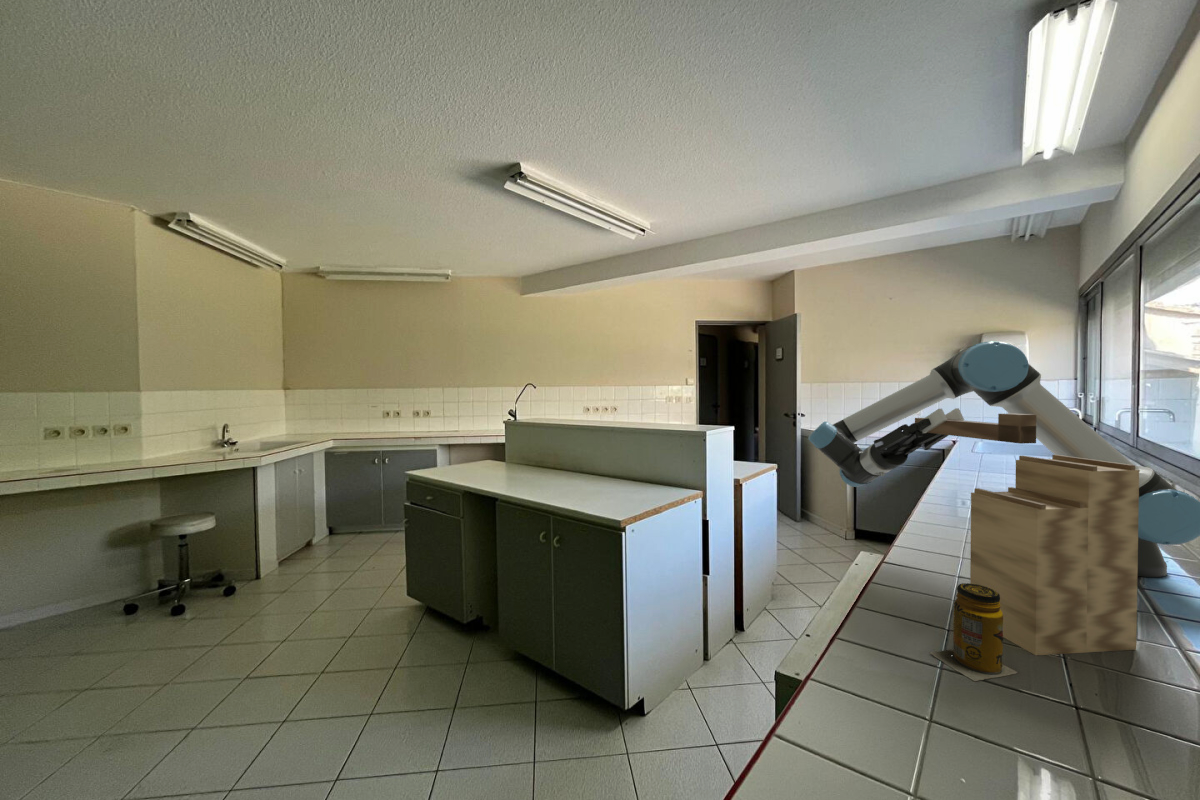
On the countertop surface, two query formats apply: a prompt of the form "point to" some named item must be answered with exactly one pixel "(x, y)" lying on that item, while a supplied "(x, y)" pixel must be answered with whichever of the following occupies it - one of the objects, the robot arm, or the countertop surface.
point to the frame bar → (992, 428)
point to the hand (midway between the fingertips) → (951, 414)
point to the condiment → (976, 634)
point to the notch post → (1061, 554)
